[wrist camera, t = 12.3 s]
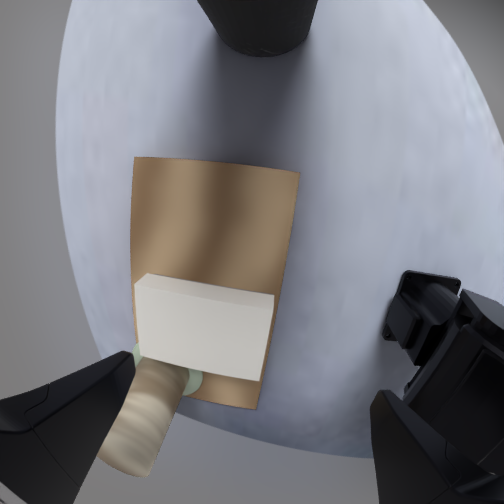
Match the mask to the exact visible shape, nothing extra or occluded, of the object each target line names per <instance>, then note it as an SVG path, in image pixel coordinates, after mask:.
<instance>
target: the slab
mask: <svg viewBox="0 0 504 504" xmlns="http://www.w3.org/2000/svg"><path fill="white" fill-rule="evenodd" d="M134 289H135V306H136V319H137V330H138V340H139V349H140V355H141V356H144V357H148V358H151V359H155V360H159V361H162V362H166V363H170V364H174V365H178V366H182V367H186V368H191V369H195V370H200V371H204V372H209V373H214V374H219V375H224V376H230V377H235V378H241V379H248V380H254V381H259V380H260V375H261V370H262V365H263V360H264V355H265V350H266V345H267V340H268V335H269V330H270V325H271V320H272V314H273V308H274V294H269V293H263V292H256V291H250V290H244V289H238V288H232V287H226V286H220V285H214V284H208V283H202V282H197V281H191V280H186V279H180V278H175V277H170V276H164V275H159V274H149V273H147V274H145V275H144V276H143V277H142V278H141V279H140V280H138V281H137V282H136V283H135V284H134Z"/></svg>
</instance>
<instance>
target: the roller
mask: <svg viewBox="0 0 504 504" xmlns="http://www.w3.org/2000/svg"><path fill="white" fill-rule="evenodd" d="M189 377H190V374H189V370H188V368H186V367H182V366H178V365H174V364H170V363H166V362H162V361H159V360H155V359H151V358H148V357H144V356H143V357H142V359H141V360H140V362H139V363H138V365H137V366H136V373H135V377H134V379H133V381H132V384H131V386H130V389H129V391H128V394H127V396H126V399H125V402H124V404H123V406H122V408H121V410H120V412H119V414H118V416H117V418H116V420H115V421H114V423H113V425H112V427H111V429H110V431H109V433H108V435H107V436H106V438H105V440H104V442H103V444H102V446H101V448H100V450H99V452H98V454H97V457H99V458H100V459H101V460H102V461H104V462H105V463H107V464H108V465H110V466H111V467H113V468H115V469H117V470H119V471H121V472H124V473H126V474H129V475H132V476H136V477H147V476H149V474H150V472H151V469H152V467H153V464H154V462H155V459H156V457H157V455H158V452H159V450H160V447H161V445H162V442H163V440H164V437H165V435H166V433H167V430H168V428H169V426H170V423H171V421H172V418H173V416H174V414H175V411H176V409H177V407H178V404H179V402H180V399H181V397H182V395H183V392H184V390H185V388H186V385H187V383H188V380H189Z"/></svg>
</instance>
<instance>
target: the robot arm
mask: <svg viewBox="0 0 504 504" xmlns="http://www.w3.org/2000/svg"><path fill="white" fill-rule="evenodd" d="M408 275H410V277H409V278H408V279H407V276H408ZM456 283H457V284H456ZM455 284H456V285H455ZM460 286H461V281H460V280H459V279H458V278H454V277H448V276H441V275H435V274H429V273H423V272H417V271H411V270H407V271H405V272H404V273H403V275H402V279H401V282H400V285H399V288H398V291H397V294H396V295H395V296H394V299H393V302H392V305H391V308H390V311H389V314H388V316H387V319H386V322H387V323H386V326H385V328H384V331H383V334H382V335H383V338H384V339H385V340H388V341H398V343H399V344H400V346H401V348H402V349H405V350H406V351H407V353H408V355H409V357H410V358H411V360H412V362H413V364H414V365H415V366H421V367H420V368H419V370H418V371H417V373H416V374H415V376H414V377H413V378H412V380H411V381H410V382H408V383H407V385H406V386H405V388H404V396H403V399H402V400H401V399H399V398H398V397H397V396H396V395H395V394H394V393H393V392H392V391H390V390H380V391H378V393H377V395H376V396H375V398H374V400H373V402H372V404H371V406H370V419H371V440H372V449H373V456H374V463H375V470H376V478H377V486H378V495H379V504H504V306H503V305H501V304H500V303H498V302H497V301H494V300H492V299H489V298H487V297H484V296H481V295H479V294H476V293H474V292H471V291H468V290H466V289H462V291H461V293H460V295H459V296H460V298H459V297H458V296H457V294H458V291H459V289H460ZM389 333H390V334H389ZM387 334H389V335H388V336H386V335H387ZM135 373H136V367H135V361H134V355H133V354H132V353H130V352H127V351H120V352H118V353H116V354H114V355H112V356H109V357H107V358H105V359H103V360H101V361H99V362H97V363H94V364H92V365H90V366H87V367H85V368H83V369H81V370H78V371H77V372H74V373H72V374H70V375H67V376H65V377H63V378H60V379H58V380H56V381H53V382H51V383H50V384H46V385H44V386H41V387H39V388H36V389H34V390H31V391H28V392H25V393H22V394H19V395H15V396H12V397H8V398H4V399H1V400H0V504H73V503H74V500H75V498H76V496H77V494H78V492H79V490H80V487H81V486H82V483H83V482H84V479H85V477H86V475H87V473H88V471H89V469H90V467H91V465H92V463H93V461H94V460H95V458H96V456H97V454H98V452H99V450H100V448H101V446H102V444H103V442H104V440H105V438H106V436H107V435H108V433H109V431H110V429H111V427H112V425H113V423H114V421H115V420H116V418H117V416H118V414H119V412H120V410H121V408H122V406H123V404H124V402H125V399H126V396H127V394H128V391H129V389H130V386H131V384H132V381H133V379H134V377H135Z"/></svg>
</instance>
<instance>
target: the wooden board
mask: <svg viewBox="0 0 504 504" xmlns="http://www.w3.org/2000/svg"><path fill="white" fill-rule="evenodd" d="M299 177H300V173H299V172H293V171H286V170H280V169H273V168H265V167H258V166H250V165H242V164H233V163H223V162H213V161H202V160H189V159H174V158H154V157H134V167H133V180H132V197H131V229H130V253H131V285H132V302H133V315H134V326H135V336H136V345H135V347H134V349H133V351H132V354H133V355H134V361H135V367H136V366H137V365H138V363H139V362H140V360H141V359H142V357H143V356H141V355H140V349H139V340H138V330H137V319H136V306H135V289H134V284H135V283H136V282H137V281H138V280H140V279H141V278H142V277H143V276H144V275H145V274H147V273H149V274H159V275H164V276H170V277H175V278H180V279H186V280H191V281H197V282H202V283H208V284H214V285H220V286H226V287H232V288H238V289H244V290H250V291H256V292H263V293H269V294H274V308H273V314H272V320H271V325H270V330H269V335H268V340H267V345H266V350H265V355H264V360H263V365H262V370H261V375H260V380H259V381H254V380H248V379H241V378H235V377H230V376H224V375H219V374H214V373H209V372H204V371H200V370H195V369H191V368H188V370H189V374H190V377H189V380H188V383H187V385H186V388H185V390H184V392H183V395H182V396H187V397H192V398H196V399H200V400H205V401H209V402H214V403H219V404H225V405H230V406H236V407H242V408H248V409H255V410H256V407H257V402H258V398H259V394H260V389H261V385H262V380H263V376H264V371H265V366H266V362H267V357H268V352H269V347H270V342H271V338H272V333H273V328H274V323H275V318H276V312H277V307H278V302H279V297H280V291H281V286H282V281H283V275H284V269H285V264H286V258H287V252H288V247H289V241H290V235H291V229H292V223H293V216H294V210H295V204H296V197H297V191H298V184H299Z"/></svg>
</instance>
